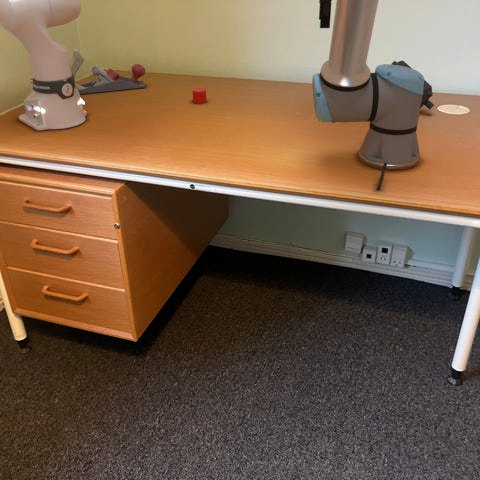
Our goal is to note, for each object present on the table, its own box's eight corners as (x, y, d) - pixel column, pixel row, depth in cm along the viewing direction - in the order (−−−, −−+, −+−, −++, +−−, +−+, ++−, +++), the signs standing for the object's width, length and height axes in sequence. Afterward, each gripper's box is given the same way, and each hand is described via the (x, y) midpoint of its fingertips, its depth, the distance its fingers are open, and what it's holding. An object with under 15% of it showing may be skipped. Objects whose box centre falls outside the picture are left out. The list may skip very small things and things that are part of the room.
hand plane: (62, 90, 197) (53, 48, 189) (145, 82, 205) (140, 41, 197) (62, 96, 191) (54, 53, 184) (148, 87, 199) (143, 45, 191)
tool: (372, 91, 179) (399, 54, 168) (415, 128, 175) (445, 93, 164) (364, 95, 175) (390, 58, 165) (407, 134, 171) (437, 98, 160)
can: (208, 100, 185) (207, 88, 183) (204, 104, 181) (203, 92, 179) (195, 99, 186) (194, 87, 184) (191, 103, 182) (190, 91, 180)
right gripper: (314, -63, 154) (310, 16, 165) (315, -58, 133) (311, 31, 144) (340, -63, 153) (335, 16, 164) (346, -59, 132) (339, 31, 143)
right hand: (324, 23), depth 154 cm, fingers open, 13 cm apart
